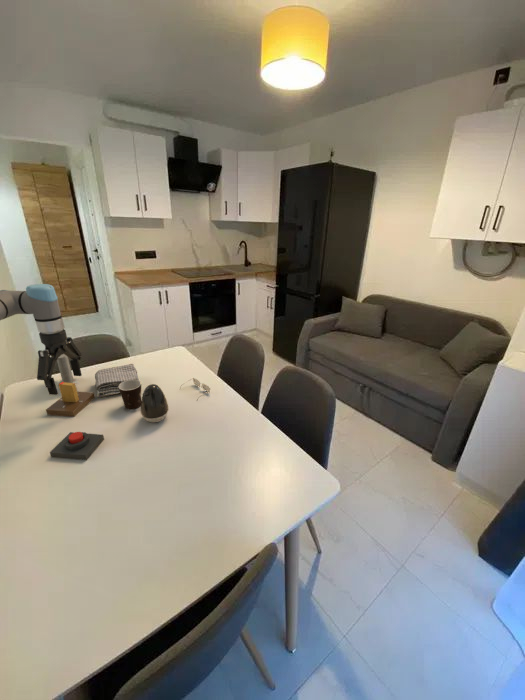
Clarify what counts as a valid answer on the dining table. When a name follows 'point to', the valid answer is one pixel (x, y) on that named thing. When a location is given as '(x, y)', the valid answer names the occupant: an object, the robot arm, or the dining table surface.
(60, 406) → the plate
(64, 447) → the doorbell
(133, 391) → the coffee mug
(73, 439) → the bell button
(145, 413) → the dark egg shape
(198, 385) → the eyeglasses
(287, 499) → the dining table surface
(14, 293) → the robot arm
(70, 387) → the thumb turn
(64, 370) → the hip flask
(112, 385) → the towel
